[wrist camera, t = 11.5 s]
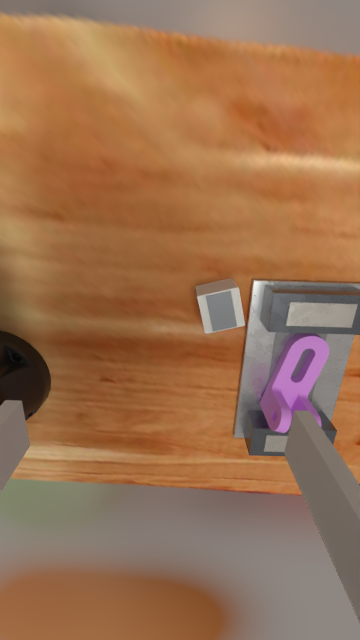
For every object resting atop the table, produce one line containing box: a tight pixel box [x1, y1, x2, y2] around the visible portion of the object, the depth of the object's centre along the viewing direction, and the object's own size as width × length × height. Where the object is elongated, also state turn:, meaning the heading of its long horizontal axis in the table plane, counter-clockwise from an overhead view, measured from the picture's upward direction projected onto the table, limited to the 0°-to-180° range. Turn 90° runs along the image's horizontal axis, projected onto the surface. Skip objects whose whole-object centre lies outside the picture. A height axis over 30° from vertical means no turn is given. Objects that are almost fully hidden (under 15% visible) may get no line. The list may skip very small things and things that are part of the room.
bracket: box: [260, 333, 329, 433], centre depth 38 cm, size 13×6×7 cm, turn 164°
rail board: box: [233, 279, 360, 456], centre depth 40 cm, size 15×26×5 cm, turn 178°
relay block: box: [195, 278, 245, 334], centre depth 36 cm, size 5×5×5 cm
